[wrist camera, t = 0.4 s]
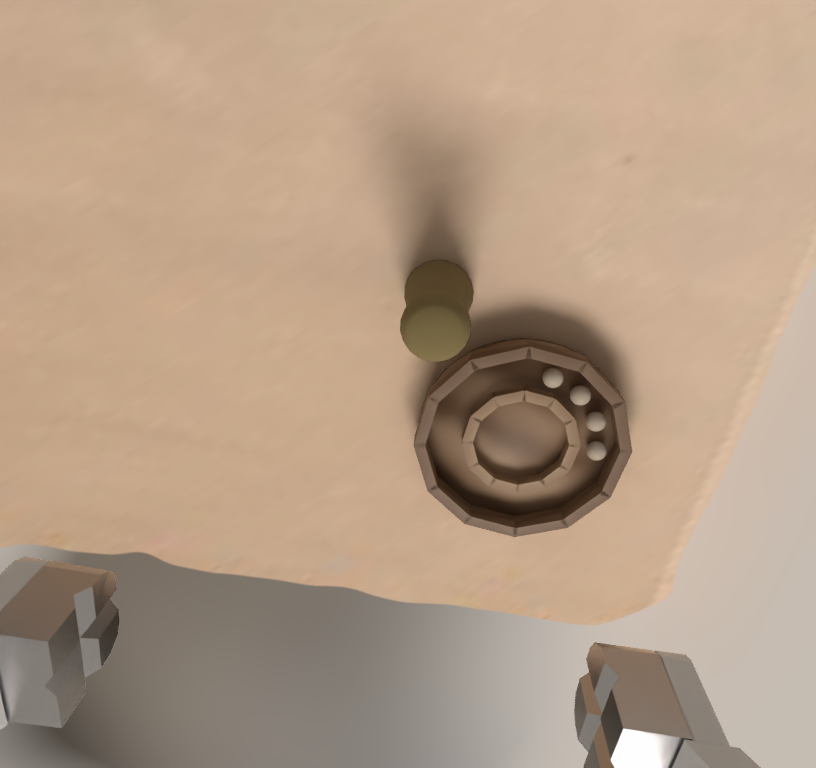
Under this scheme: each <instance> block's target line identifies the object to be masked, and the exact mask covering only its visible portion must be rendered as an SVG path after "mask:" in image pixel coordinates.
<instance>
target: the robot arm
mask: <svg viewBox="0 0 816 768" xmlns="http://www.w3.org/2000/svg"><path fill="white" fill-rule="evenodd" d="M116 590H117V588H116V581H115V574H114V573H111V572H110V571H106V570H100V569H94V568H89V567H83V566H78V565H72V564H66V563H60V562H54V561H53V562H50V561H45V560H40V559H34V558H28V557H23V558H20V559H18V560H15V561H14V562H13V563H12V564H11V565H10V566H8V568H6V570H4V571H3V572H2V573H1V574H0V729H2V728H3V727H5V726H6V725H7V721H8V722H17V723H25V724H33V725H41V726H49V727H57V728H62V727H63V725H64V724H65V722H66V721H67V719H68V718H69V716H70V715H71V713H72V712H73V710H74V709H75V707H76V706H77V704H78V703H79V701H80V700H81V698H82V697H83V695H84V694H85V692H86V686H85V677H87V676H88V675H90V674H92V673H93V672H95V671H97V670H99V669H100V668H101V667H102V666H103V665H104V663H105V661H106V660H107V658H108V656H109V655H110V653H111V651H112V649H113V646H114V643H115V641H116V638H117V635H118V629H119V610H118V608H117V607H116V606H115V605H114V604H113V602H112V601H111V600H110V598H111V597H112V595H113V594H114V593H115V591H116ZM586 660H587V665H588V669H589V673H587V674H586V675H585V676H583V677H581V678H580V680H579V683H578V687H577V691H576V697H575V709H574V712H575V726H576V731H577V736H578V740H579V742H580V743H581V744H582V745H583V746H584V748H585V749H586V750H587V751H588V755H587V758H586V761H585V764H584V768H760V767H759V766H758V765H757V764H756V763H755V762H754V761H753V760H752V759H751V758H750V757H749V756H747V755H746V754H745V753H744V752H743V751H742V750H741V749H740V748H736V747H730V745H729V743H728V741H727V739H726V736H725V734H724V732H723V730H722V728H721V726H720V723H719V721H718V719H717V717H716V715H715V712H714V710H713V708H712V706H711V703H710V701H709V699H708V697H707V694H706V692H705V690H704V688H703V686H702V683H701V681H700V679H699V677H698V674H697V673H696V670H695V668H694V666H693V663H692V661H691V660H690V659H689V658H688V657H687V656H686V655H683V654H675V653H668V652H661V651H651V650H645V649H638V648H630V647H623V646H616V645H609V644H602V643H594V644H593V645H592V646H591V647H590V650H589V653H588V656H587V659H586Z"/></svg>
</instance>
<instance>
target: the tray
mask: <svg viewBox="0 0 816 768" xmlns="http://www.w3.org/2000/svg"><path fill="white" fill-rule="evenodd" d="M414 448H415V451H416V454H417V458H418V461H419V464H420V467H421V471H422V474H423V477H424V480H425V484H426V487H427V490H428V492H429V493H430V494H432V495H433V496H434V497H435V498H436V499H437V500H438V501H439V502H441V503H442V504H443V505H444V506H445V507H446V508H447V509H448V510H450V511H451V512H452V513H453V514H454V515H455V516H456V517H457V518H459V519H460V520H461V521H462V522H463V523H464V524H467V525H471V526H475V527H479V528H482V529H486V530H490V531H494V532H498V533H502V534H505V535H509V536H513V537H517V536H523V535H529V534H535V533H540V532H546V531H552V530H558V529H563V528H568V527H569V526H571V525H572V524H574V523H575V522H576V521H578V520H579V519H581V518H582V517H583V516H585V515H586V514H588V513H589V512H591V511H592V510H593V509H595V508H596V507H598V506H599V505H600V504H602V503H603V502H605V501H606V500H608V499H609V498H610V497H611V495H612V493H613V491H614V489H615V487H616V485H617V483H618V481H619V479H620V476H621V474H622V472H623V470H624V468H625V466H626V464H627V462H628V460H629V458H630V456H631V453H632V447H631V440H630V434H629V427H628V420H627V414H626V407H625V401H624V400H623V398H622V397H621V395H620V393H619V392H618V391H617V390H616V389H615V388H614V387H613V386H612V385H611V384H610V382H609V381H608V380H607V379H606V378H605V377H604V375H603V374H602V373H601V372H600V370H599V369H598V368H597V367H595V366H594V365H593V364H592V363H591V362H590V361H589V360H588V359H587V358H586V357H585V356H584V355H583V354H581V353H577V352H575V351H573V350H571V349H569V348H567V347H564V346H561V345H558V344H555V343H552V342H547V341H543V340H535V339H511V340H505V341H499V342H495V343H492V344H488V345H485V346H482V347H480V348H478V349H475V350H473V351H471V352H469V353H468V354H466V355H464V356H463V357H461V358H459V359H458V360H457V361H456V362H454V363H453V364H452V365H450V366H449V367H448V368H447V369H446V370H445V371H444V372H443V373H442V374H441V375H440V377H439V378H438V379H437V381H436V382H435V383H434V384H433V385H432V386H431V387H430V388H429V391H428V394H427V397H426V400H425V403H424V405H423V408H422V413H421V417H420V421H419V424H418V427H417V431H416V434H415V440H414Z"/></svg>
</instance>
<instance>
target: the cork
mask: <svg viewBox="0 0 816 768" xmlns="http://www.w3.org/2000/svg"><path fill="white" fill-rule="evenodd" d="M405 301H406V308H405V310H404V313H403V315H402V318H401V325H400V331H401V335H402V338H403V341H404V343H405V344H406V346H407V347H408V349H409V350H410V351H411V352H412V353H413V354H414V355H416V356H417V357H419V358H421V359H424V360H426V361H434V362H439V361H444V360H448V359H450V358H452V357H454V356H455V355H457V354H458V353H459V352H460V351H461V350H462V349H463V348H464V347H465V345H466V343H467V341H468V339H469V337H470V331H471V321H470V317H469V313H468V311H469V309H470V307H471V304H472V301H473V287H472V283H471V280H470V278H469V277H468V275H467V273H466V272H465V271H464V270H463V269H462V268H460V267H459V266H458V265H457V264H454V263H452V262H449V261H445V260H433V261H429V262H425V263H424V264H422V265H420V266H419V267H417V268H416V269H415V270H414V271H413V273H412V274H411V275H410V276H409V278H408V281H407V283H406V286H405Z"/></svg>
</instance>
